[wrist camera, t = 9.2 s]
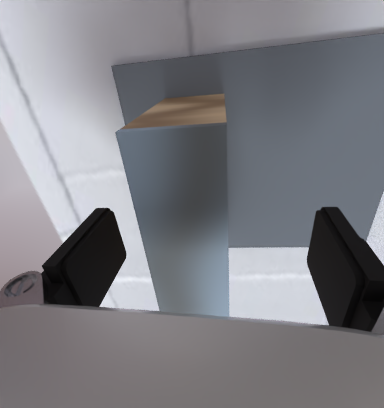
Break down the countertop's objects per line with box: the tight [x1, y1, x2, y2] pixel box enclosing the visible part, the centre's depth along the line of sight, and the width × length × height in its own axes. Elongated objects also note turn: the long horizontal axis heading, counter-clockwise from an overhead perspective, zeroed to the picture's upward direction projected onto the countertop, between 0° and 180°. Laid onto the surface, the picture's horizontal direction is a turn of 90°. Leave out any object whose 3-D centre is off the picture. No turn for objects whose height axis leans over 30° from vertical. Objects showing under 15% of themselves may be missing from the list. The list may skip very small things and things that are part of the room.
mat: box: [112, 33, 384, 248], centre depth 16 cm, size 17×14×1 cm
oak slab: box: [115, 94, 229, 317], centre depth 13 cm, size 4×10×8 cm, turn 5°
